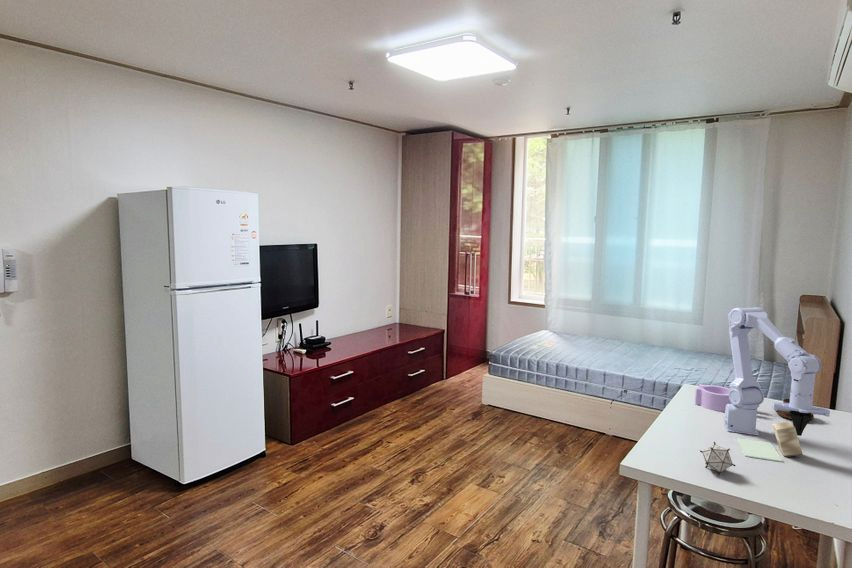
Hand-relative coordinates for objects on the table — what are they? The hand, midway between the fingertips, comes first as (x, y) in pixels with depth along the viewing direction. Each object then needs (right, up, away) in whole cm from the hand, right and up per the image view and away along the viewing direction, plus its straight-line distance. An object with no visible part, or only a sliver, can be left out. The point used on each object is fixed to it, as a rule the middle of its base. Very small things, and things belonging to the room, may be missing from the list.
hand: (797, 434), depth 157 cm
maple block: (-1, -6, +1) cm, 6 cm away
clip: (+2, -3, +43) cm, 43 cm away
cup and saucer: (+23, -4, +33) cm, 41 cm away
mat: (-9, -6, +5) cm, 12 cm away
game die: (-31, -8, -9) cm, 34 cm away
